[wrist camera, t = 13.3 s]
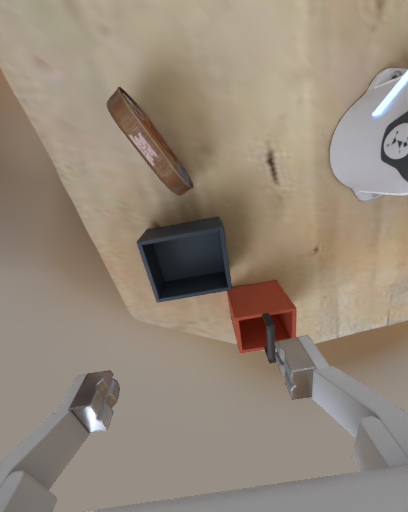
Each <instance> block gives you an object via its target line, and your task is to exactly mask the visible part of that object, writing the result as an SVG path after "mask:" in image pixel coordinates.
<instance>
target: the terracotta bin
mask: <svg viewBox="0 0 408 512" xmlns="http://www.w3.org/2000/svg"><path fill="white" fill-rule="evenodd" d="M227 293H228V300H229V306H230V313H231V319H232V324H233V328H234V332H235V336H236V341H237V345H238V349H239V353H245V352H251V351H257V350H264V349H265V352H266V355H267V357H268V361H269V363H275V362H276V355H275V341H277V340H282V339H288V338H293V337H296V307H295V305H294V304H293V303H292V301H291V300H290V299H289V297H288V296H287V294H286V293H285V292H284V290H283V289H282V287H281V286H280V285H279V283H278V282H277V280H273V281H267V282H262V283H256V284H250V285H244V286H238V287H232V290H228V291H227Z"/></svg>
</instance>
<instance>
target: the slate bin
mask: <svg viewBox="0 0 408 512" xmlns="http://www.w3.org/2000/svg"><path fill="white" fill-rule="evenodd" d="M137 245H138V248H139V251H140V254H141V257H142V260H143V263H144V266H145V269H146V272H147V275H148V277H149V280H150V283H151V286H152V289H153V292H154V295H155V298H156V301H157V302H163V301H169V300H175V299H181V298H186V297H192V296H198V295H204V294H210V293H216V292H222V291H228V290H232V284H231V277H230V270H229V263H228V256H227V249H226V241H225V234H224V227H223V225H222V223H221V220H220V218H219V217H214V218H209V219H203V220H198V221H192V222H187V223H182V224H176V225H171V226H165V227H160V228H154V229H149V230H146V231H145V232H144V234H143V235H142V236H141V237H140V239H139V240H138V241H137Z"/></svg>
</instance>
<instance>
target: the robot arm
mask: <svg viewBox="0 0 408 512" xmlns="http://www.w3.org/2000/svg"><path fill="white" fill-rule="evenodd" d="M392 78H393V80H391V79H392ZM330 164H331V168H332V171H333V173H334V175H335V176H336V178H337V179H338V180H339V181H340V182H341V183H342V184H344V185H345V186H347V187H349V188H351V189H352V190H353V191H354V193H355V195H356V196H357V198H358V199H359V200H361V201H369V200H372V199H374V198H377V197H380V196H382V195H385V194H388V195H408V69H404V68H388V69H385V70H383V71H381V72H379V73H378V74H377V75H376V77H375V78H374V80H373V81H372V83H371V84H370V86H369V88H368V89H367V91H366V93H365V94H364V95H363V96H362V97H361V98H360V99H359V100H358V101H357V102H356V103H355V104H353V105H352V106H351V107H350V109H349V110H348V111H347V112H346V113H345V115H344V116H343V117H342V119H341V120H340V122H339V124H338V126H337V128H336V130H335V132H334V135H333V138H332V142H331V146H330ZM275 348H276V350H277V352H276V360H277V365H278V367H279V370H280V373H281V375H283V376H284V377H285V385H286V387H287V389H288V392H289V394H290V396H291V399H292V400H293V399H300V398H309V397H312V399H313V400H315V402H316V403H318V404H319V405H320V406H321V407H322V408H323V409H324V410H325V411H326V412H327V413H328V414H330V415H331V416H332V417H333V418H334V419H335V420H336V421H337V422H338V423H339V424H341V426H343V427H344V428H345V429H346V430H347V431H348V432H349V433H350V434H351V435H352V436H353V437H355V438H356V441H355V444H354V449H353V453H352V458H353V460H354V462H355V464H356V466H357V468H358V469H359V471H360V472H354V473H347V474H340V475H333V476H326V477H319V478H312V479H305V480H298V481H291V482H285V483H277V484H271V485H264V486H257V487H250V488H244V489H236V490H230V491H222V492H215V493H209V494H201V495H195V496H188V497H181V498H174V499H167V500H160V501H153V502H146V503H139V504H132V505H126V506H118V507H112V508H105V509H98V510H91V511H84V512H408V414H407V413H406V412H405V411H404V410H403V409H401V408H400V407H398V406H397V405H395V404H393V403H392V402H390V401H388V400H387V399H385V398H384V397H382V396H380V395H379V394H377V393H376V392H374V391H372V390H371V389H369V388H367V387H366V386H364V385H363V384H361V383H360V382H358V381H356V380H355V379H353V378H352V377H350V376H348V375H347V374H345V373H344V372H342V371H340V370H339V369H337V368H335V367H334V366H331V367H330V366H329V365H328V363H327V362H326V360H325V359H324V357H323V356H322V354H321V353H320V352H319V350H318V349H317V347H316V346H315V344H314V343H313V341H312V340H311V338H310V337H309V336H308V335H306V336H300V337H293V338H288V339H282V340H277V341H275ZM112 377H113V373H112V372H111V371H102V372H95V373H88V374H82V375H79V376H77V377H76V379H75V380H74V382H73V384H72V385H71V387H70V389H69V390H68V392H67V394H66V396H65V397H64V399H63V401H62V403H61V404H60V406H59V408H58V410H57V411H56V413H52V414H51V415H50V416H49V417H48V418H47V419H46V420H45V421H44V422H43V423H42V424H41V425H40V426H38V427H37V428H36V429H35V430H34V431H33V432H32V433H31V434H30V435H29V436H28V437H27V438H26V439H25V440H24V441H23V442H21V443H20V444H19V445H18V446H17V447H16V448H15V449H14V450H13V451H12V452H11V453H10V454H9V455H8V456H7V457H6V458H4V459H3V460H2V461H1V462H0V512H52V511H53V509H54V507H55V504H56V502H57V498H56V496H55V495H54V494H52V493H51V492H50V491H49V489H50V488H51V486H52V485H53V483H54V482H55V481H56V479H57V478H58V477H59V475H60V474H61V473H62V471H63V470H64V468H65V467H66V466H67V465H68V463H69V462H70V460H71V459H72V458H73V456H74V455H75V454H76V452H77V451H78V450H79V448H80V447H81V445H82V444H83V443H84V441H85V440H86V439H87V437H88V436H89V435H90V434H89V433H93V432H98V431H103V430H108V427H109V424H110V421H111V418H112V415H113V410H112V407H113V406H114V405H115V404H116V403H117V400H118V397H119V391H120V387H119V384H118V382H117V380H115V379H113V378H112Z"/></svg>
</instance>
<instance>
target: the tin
mask: <svg viewBox="0 0 408 512" xmlns="http://www.w3.org/2000/svg"><path fill="white" fill-rule="evenodd" d="M107 108H108V110H109V112H110V114H111V116H112V117H113V119H114V120H115V122H116V123H117V125H118V126H119V128H120V129H121V130H122V131H123V133H124V134H125V135H126V137H127V138H128V139H129V141H130V142H131V143H132V144H133V146H134V147H135V148H136V150H137V151H138V152H139V153H140V155H141V156H142V157H143V158H144V160H145V161H146V162H147V164H148V165H149V166H150V167H151V169H152V170H153V171H154V172H155V174H156V175H157V176H158V177H159V179H160V180H161V181H162V182H163V183H164V184H165V185H166V186H167V187H168V188H169V189H170V190H171V191H172V192H173V193H175V194H176V195H183V194H184V193H185V192H187V191H188V190H189V189H190V188H193V184H192V182H191V179H190V177H189V176H188V174H187V172H186V171H185V169H184V168H183V166H182V165H181V163H180V162H179V161H178V159H177V158H176V156H175V155H174V154H173V152H172V151H171V149H170V148H169V147H168V145H167V144H166V142H165V141H164V140H163V138H162V137H161V135H160V134H159V133H158V131H157V130H156V128H155V127H154V126H153V124H152V123H151V122H150V120H149V119H148V118H147V116H146V115H145V114H144V112H143V111H142V110H141V109H140V107H139V106H138V105H137V104H136V103H135V101H134V100H133V99H132V98H131V97H130V96H129V95H128V94H127V93H126V92H125V91H124V90H123V89H122V88H121V87H118V88H117V90H116V92H115V93H114V94H113V95H112V96H111V97H110V98H109V100H108V101H107Z"/></svg>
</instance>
